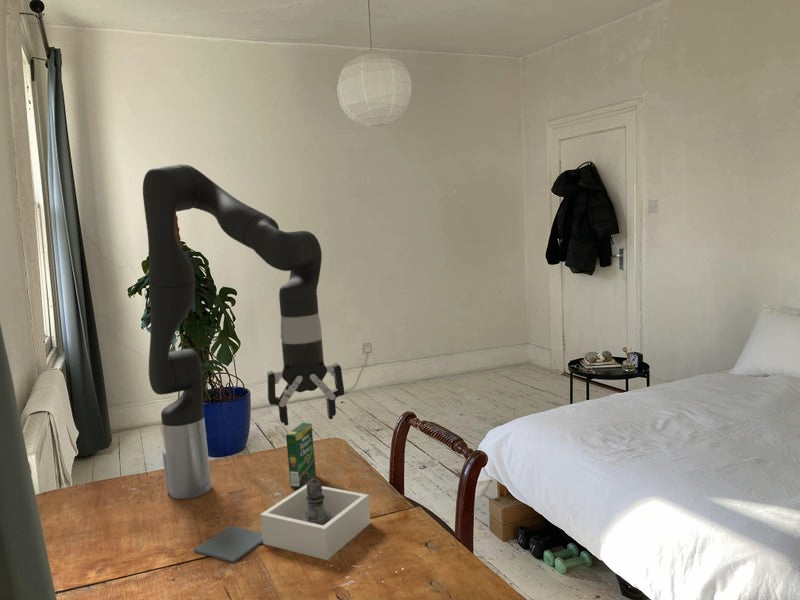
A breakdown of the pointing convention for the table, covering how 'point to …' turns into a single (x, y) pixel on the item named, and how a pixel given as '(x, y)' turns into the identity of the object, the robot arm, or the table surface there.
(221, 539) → the mat
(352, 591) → the table surface
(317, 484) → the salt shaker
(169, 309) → the robot arm
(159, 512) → the table surface
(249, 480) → the table surface
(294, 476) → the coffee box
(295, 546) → the frame
